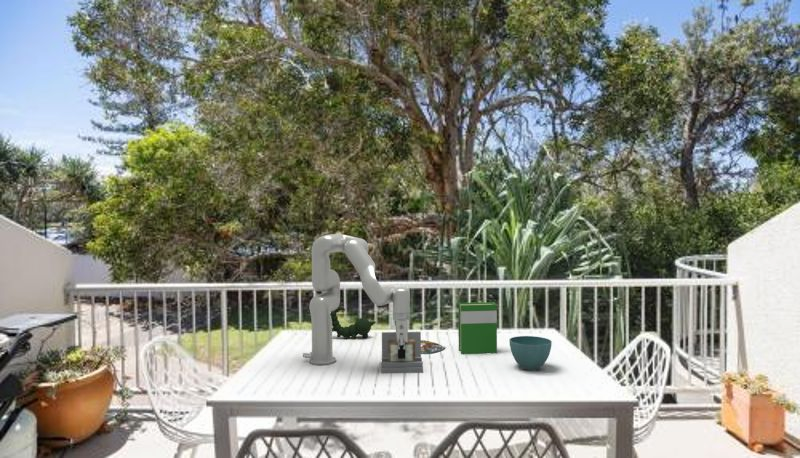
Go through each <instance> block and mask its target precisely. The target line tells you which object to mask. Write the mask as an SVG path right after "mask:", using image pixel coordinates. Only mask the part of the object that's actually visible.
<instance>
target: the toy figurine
mask: <svg viewBox="0 0 800 458" xmlns="http://www.w3.org/2000/svg"><path fill="white" fill-rule="evenodd" d="M340 311H346V309H345V308H344V307H343V306H338V308H337V309H336V310H334V311H332V312H330V316H331V320H332V333H333V332H336V334H337V335H336V337H337V338H341V337H343V338H344V339H345V340H348V339H349V338H350V337H351V338H352V339H356V338H357V336H358V335H359V336H362V338H363V339H368V337H369V334H368V333H370V332H371V329H372V326H374V325H375V324H376V323H377V321H374V320H373V321H371V320H369V319H367V318H366V317H361V318H357V320H355V321H354V323H352V324H349V325H348V326H342V325H341V324H340V321H339V318H338V315H337V313H339V312H340Z"/></svg>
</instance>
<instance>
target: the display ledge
mask: <svg viewBox="0 0 800 458" xmlns="http://www.w3.org/2000/svg"><path fill="white" fill-rule="evenodd" d="M421 333H422V332H421V331H408V339H415V361H413V362H388V340H397V339H396V331H382V332H381V362H380V363H381V365H380V366H381V367H380V369H381V374H402V373H403V374H405V373H406V374H407V373H408V374H411V373H413V374H415V373H416V374H417V373H418V374H419V373H424V365H423V363H424V362H423V361H422V360H423V358H422V354H421V346H422V345H421V340H422V337H421V336H422V334H421Z"/></svg>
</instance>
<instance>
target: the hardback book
mask: <svg viewBox="0 0 800 458" xmlns="http://www.w3.org/2000/svg"><path fill="white" fill-rule="evenodd" d="M497 308H498V305H497V303H496V302H494V301H490V302H489V301H486V302H483V301H482V302H481V301H479V302H458V309H457V310H458V351H459V352H460V355H478V354H479V355H484V354H487V353H491V354H498V321H497V320H498V313H497V312H498V311H497V310H498V309H497ZM487 355H488V354H487Z"/></svg>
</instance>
